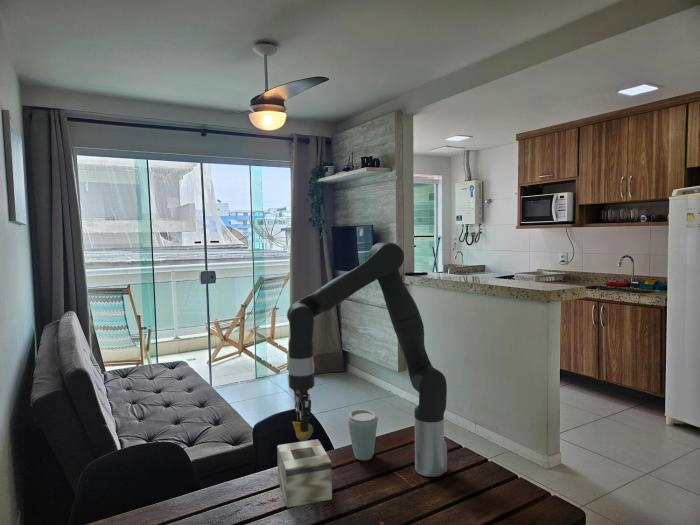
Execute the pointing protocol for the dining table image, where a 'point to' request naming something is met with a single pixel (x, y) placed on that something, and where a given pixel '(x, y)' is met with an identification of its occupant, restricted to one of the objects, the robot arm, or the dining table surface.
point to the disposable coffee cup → (362, 432)
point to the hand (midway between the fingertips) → (302, 427)
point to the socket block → (304, 473)
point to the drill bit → (302, 435)
